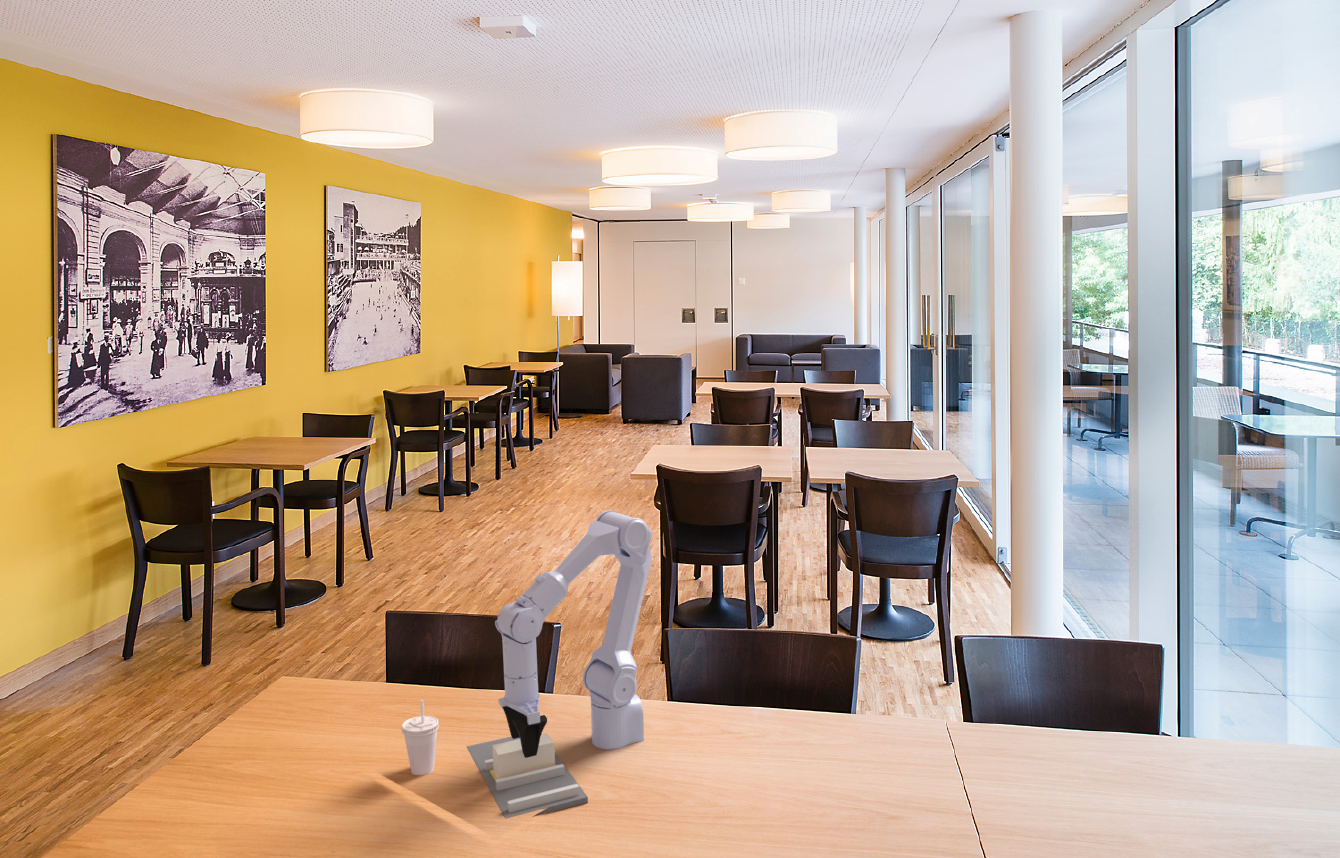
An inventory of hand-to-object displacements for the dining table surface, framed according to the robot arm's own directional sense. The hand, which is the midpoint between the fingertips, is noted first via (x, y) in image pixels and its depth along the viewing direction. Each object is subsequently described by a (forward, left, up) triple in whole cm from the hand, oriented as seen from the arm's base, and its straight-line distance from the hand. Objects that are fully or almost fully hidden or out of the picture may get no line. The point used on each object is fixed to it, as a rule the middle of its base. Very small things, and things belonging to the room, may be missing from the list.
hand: (524, 746), depth 160 cm
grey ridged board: (0, 0, -6) cm, 6 cm away
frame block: (0, 0, -5) cm, 5 cm away
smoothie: (+16, -9, -6) cm, 19 cm away
